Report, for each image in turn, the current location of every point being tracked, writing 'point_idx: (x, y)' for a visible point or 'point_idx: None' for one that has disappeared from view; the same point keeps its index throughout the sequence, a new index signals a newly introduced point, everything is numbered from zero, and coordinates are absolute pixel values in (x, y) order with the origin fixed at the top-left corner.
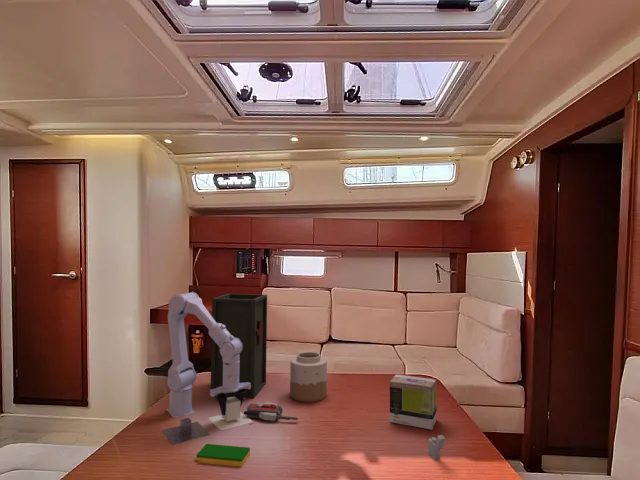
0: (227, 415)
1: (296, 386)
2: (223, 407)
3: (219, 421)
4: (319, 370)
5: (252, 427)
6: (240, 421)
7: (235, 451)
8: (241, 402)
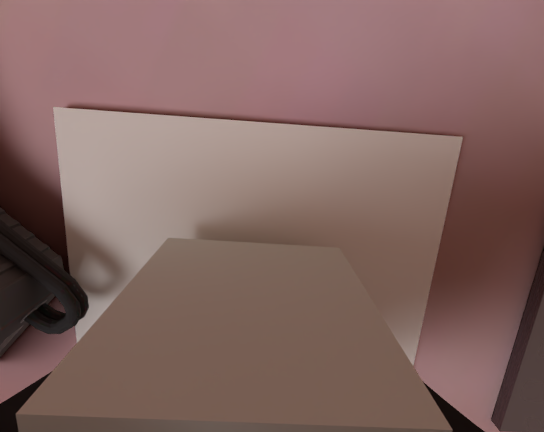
0: (348, 276)
1: None
2: (441, 407)
3: None
4: None
5: (116, 13)
6: (181, 211)
7: None
8: (18, 405)
